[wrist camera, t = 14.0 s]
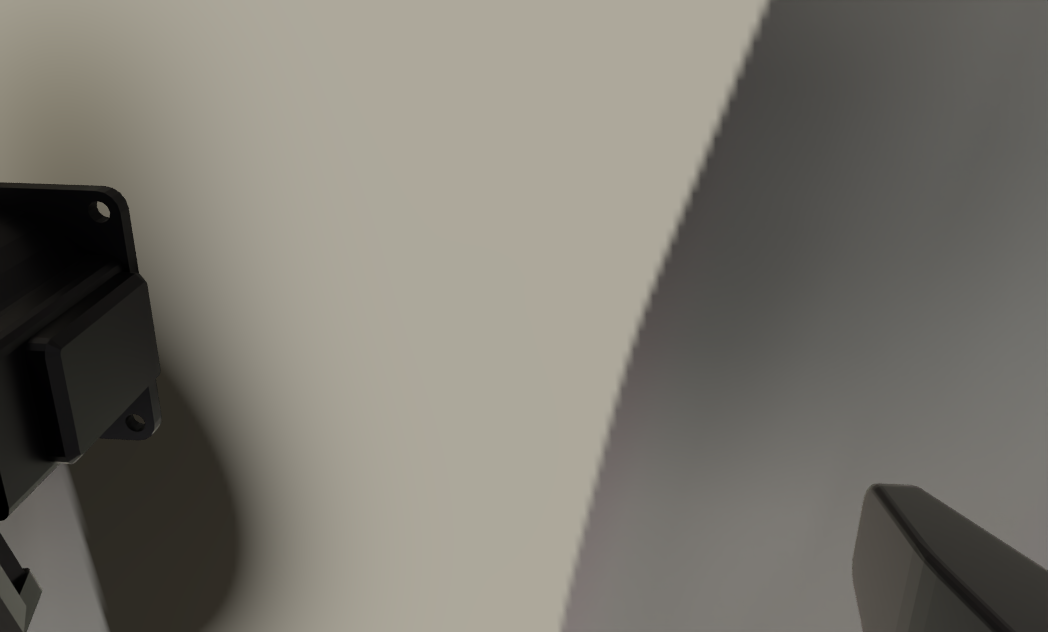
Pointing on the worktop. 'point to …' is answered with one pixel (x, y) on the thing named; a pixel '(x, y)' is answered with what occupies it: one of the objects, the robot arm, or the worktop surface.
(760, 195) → the worktop surface
